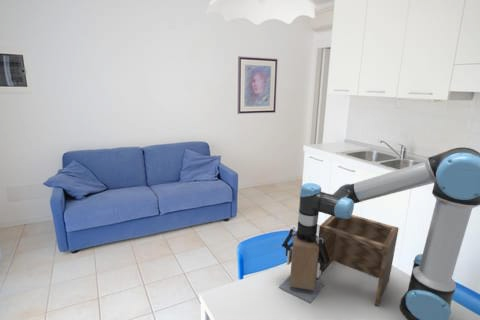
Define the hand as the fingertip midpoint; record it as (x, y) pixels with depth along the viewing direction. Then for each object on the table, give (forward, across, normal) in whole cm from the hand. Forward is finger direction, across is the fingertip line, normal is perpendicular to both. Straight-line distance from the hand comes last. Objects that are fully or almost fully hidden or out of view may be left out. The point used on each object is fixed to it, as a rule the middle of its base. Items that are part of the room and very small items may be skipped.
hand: (303, 269), depth 120 cm
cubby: (+8, -15, -18) cm, 25 cm away
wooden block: (+6, 0, 0) cm, 6 cm away
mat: (+8, 0, 0) cm, 8 cm away
